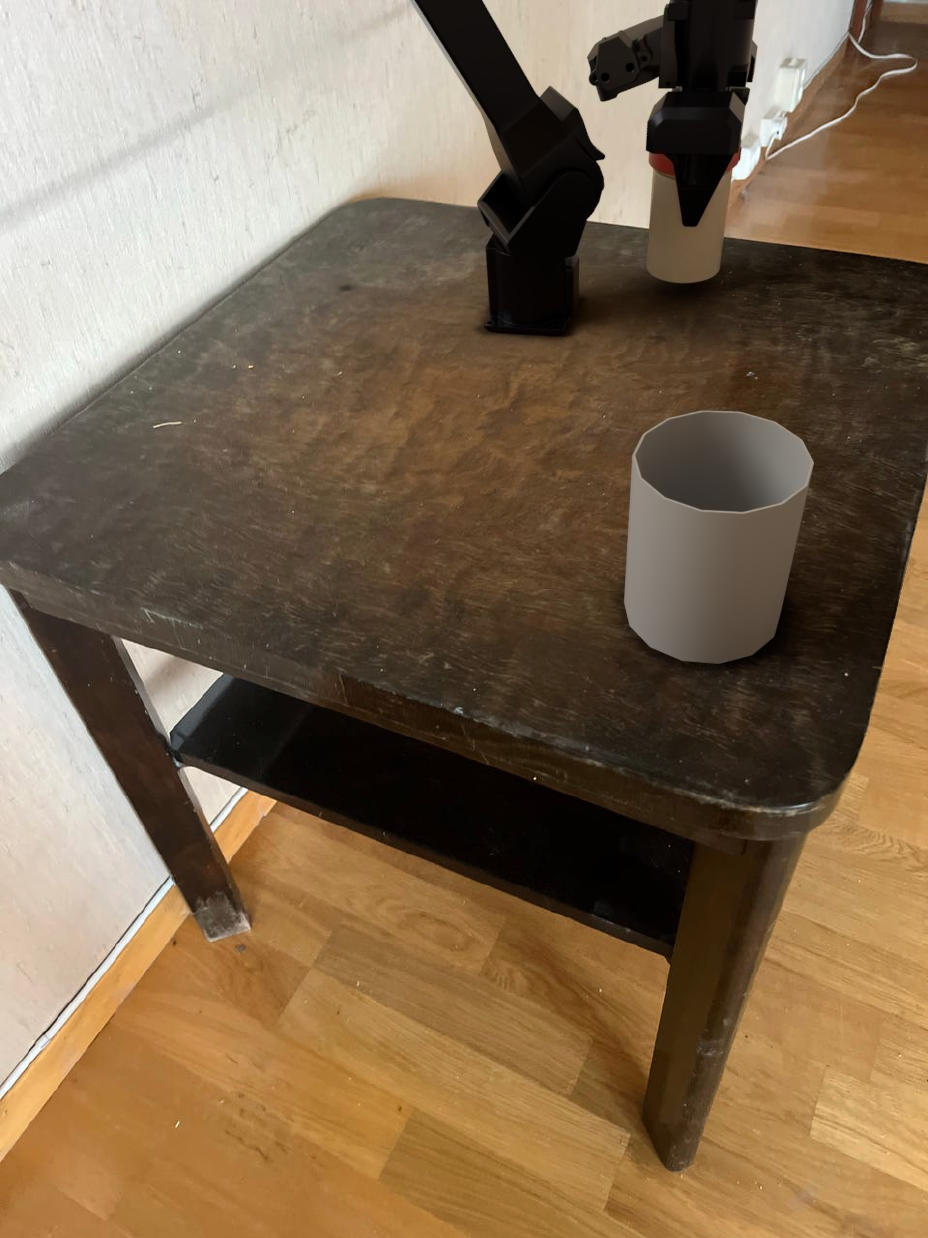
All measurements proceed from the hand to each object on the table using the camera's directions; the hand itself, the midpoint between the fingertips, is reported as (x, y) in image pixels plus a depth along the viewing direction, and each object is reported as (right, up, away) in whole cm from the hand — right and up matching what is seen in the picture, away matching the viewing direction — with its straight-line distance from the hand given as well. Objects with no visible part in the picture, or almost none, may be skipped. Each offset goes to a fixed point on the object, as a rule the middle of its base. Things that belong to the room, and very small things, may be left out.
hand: (694, 209), depth 75 cm
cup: (-5, -32, -23) cm, 39 cm away
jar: (0, -3, +3) cm, 5 cm away
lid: (-1, +3, -3) cm, 5 cm away
